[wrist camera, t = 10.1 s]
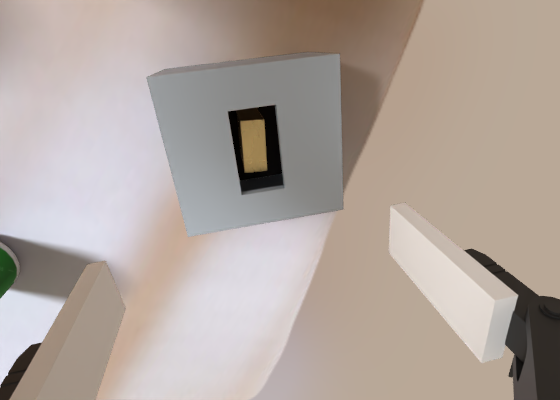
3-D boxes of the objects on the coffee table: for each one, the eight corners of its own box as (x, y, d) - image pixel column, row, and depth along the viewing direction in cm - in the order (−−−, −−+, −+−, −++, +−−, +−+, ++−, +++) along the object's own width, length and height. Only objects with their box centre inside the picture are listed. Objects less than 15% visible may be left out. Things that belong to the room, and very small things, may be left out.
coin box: (164, 69, 34) (146, 77, 25) (308, 51, 35) (339, 53, 26) (194, 194, 40) (188, 236, 31) (316, 174, 41) (343, 209, 33)
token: (236, 108, 37) (240, 121, 30) (256, 107, 37) (264, 119, 31) (240, 152, 39) (244, 172, 32) (259, 150, 39) (267, 170, 33)
